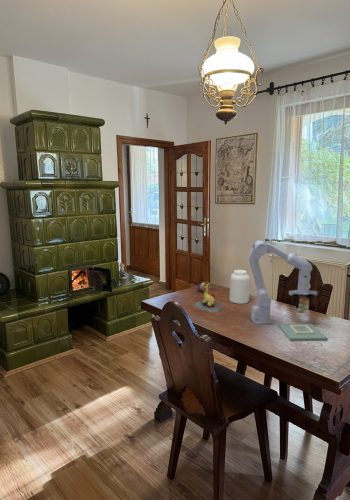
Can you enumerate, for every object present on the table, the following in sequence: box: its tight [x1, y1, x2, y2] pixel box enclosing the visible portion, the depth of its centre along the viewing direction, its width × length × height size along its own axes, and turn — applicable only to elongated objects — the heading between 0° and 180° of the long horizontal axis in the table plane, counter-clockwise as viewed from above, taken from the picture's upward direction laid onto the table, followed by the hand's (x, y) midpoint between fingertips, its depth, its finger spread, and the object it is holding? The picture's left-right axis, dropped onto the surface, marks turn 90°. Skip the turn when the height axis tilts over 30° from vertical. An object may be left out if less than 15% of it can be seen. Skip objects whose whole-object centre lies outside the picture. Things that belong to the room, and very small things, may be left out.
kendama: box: [197, 282, 216, 299], centre depth 235 cm, size 6×6×20 cm
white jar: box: [228, 269, 251, 304], centre depth 220 cm, size 12×12×20 cm
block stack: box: [294, 295, 310, 314], centre depth 183 cm, size 5×5×8 cm
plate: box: [277, 323, 329, 342], centre depth 172 cm, size 18×18×2 cm
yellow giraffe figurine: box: [193, 281, 225, 312], centre depth 210 cm, size 16×18×16 cm
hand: (301, 307), depth 184 cm, fingers closed on block stack, 5 cm apart
